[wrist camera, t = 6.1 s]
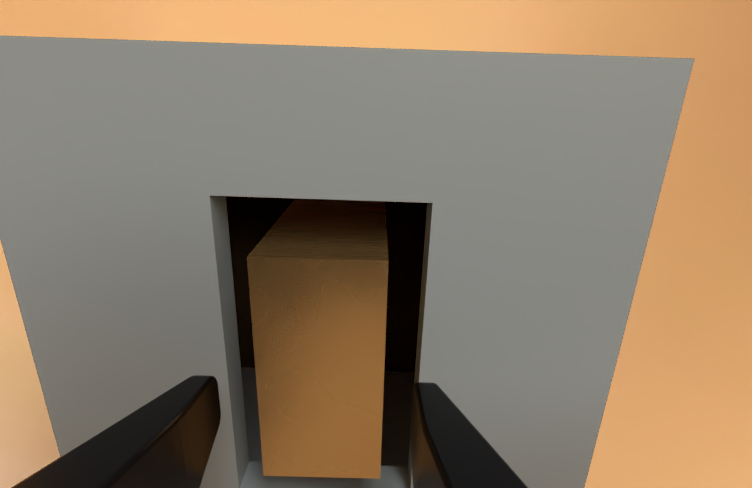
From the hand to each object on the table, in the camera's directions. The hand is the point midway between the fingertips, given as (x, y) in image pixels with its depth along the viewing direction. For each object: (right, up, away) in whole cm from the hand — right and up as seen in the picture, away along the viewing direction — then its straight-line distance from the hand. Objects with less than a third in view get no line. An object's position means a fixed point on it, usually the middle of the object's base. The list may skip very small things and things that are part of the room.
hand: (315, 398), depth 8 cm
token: (0, +2, +5) cm, 6 cm away
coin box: (0, +3, +8) cm, 8 cm away
